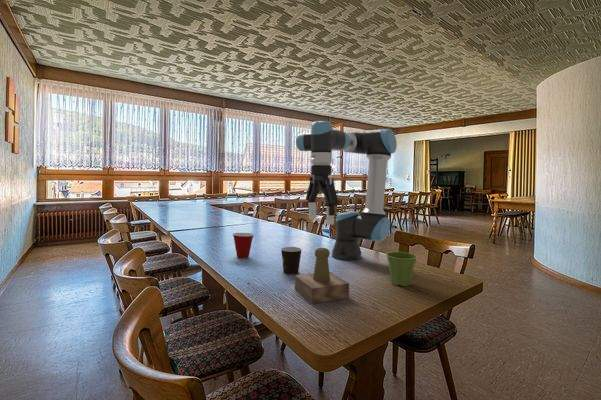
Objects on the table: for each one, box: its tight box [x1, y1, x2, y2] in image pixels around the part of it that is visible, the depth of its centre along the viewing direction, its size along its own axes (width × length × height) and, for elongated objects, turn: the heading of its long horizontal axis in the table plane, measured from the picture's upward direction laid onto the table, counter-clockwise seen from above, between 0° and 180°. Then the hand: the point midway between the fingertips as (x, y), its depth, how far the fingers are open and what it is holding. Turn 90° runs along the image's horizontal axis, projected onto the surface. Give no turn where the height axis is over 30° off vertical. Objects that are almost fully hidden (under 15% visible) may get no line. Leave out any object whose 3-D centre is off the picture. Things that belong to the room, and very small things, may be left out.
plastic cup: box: [232, 232, 255, 259], centre depth 154 cm, size 11×11×12 cm
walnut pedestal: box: [294, 271, 350, 304], centre depth 108 cm, size 14×14×5 cm
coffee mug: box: [280, 246, 303, 275], centre depth 132 cm, size 12×9×10 cm
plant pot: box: [385, 251, 419, 287], centre depth 120 cm, size 12×12×11 cm
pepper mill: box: [313, 247, 331, 282], centre depth 107 cm, size 6×6×11 cm
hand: (320, 221), depth 115 cm, fingers open, 13 cm apart
